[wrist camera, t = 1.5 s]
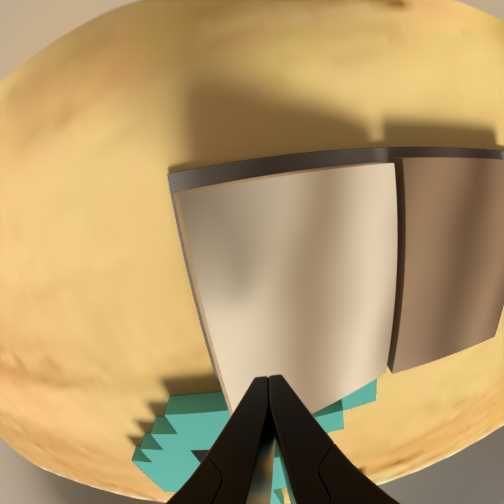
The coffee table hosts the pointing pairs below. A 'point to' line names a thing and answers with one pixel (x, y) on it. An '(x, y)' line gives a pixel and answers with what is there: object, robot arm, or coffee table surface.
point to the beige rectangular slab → (296, 277)
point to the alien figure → (215, 436)
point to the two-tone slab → (416, 240)
